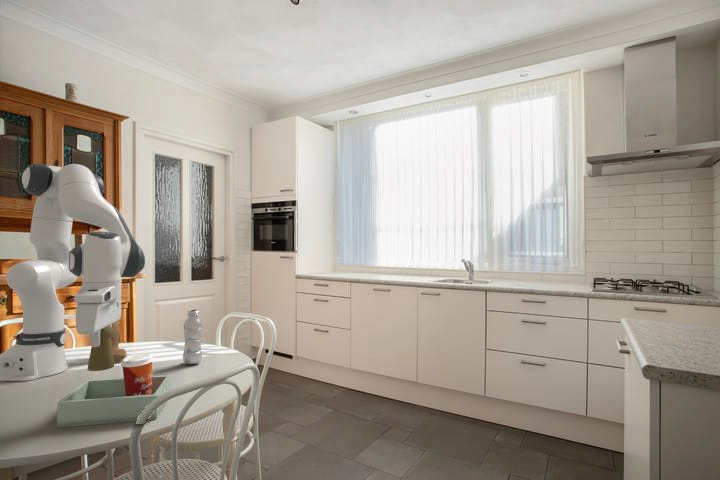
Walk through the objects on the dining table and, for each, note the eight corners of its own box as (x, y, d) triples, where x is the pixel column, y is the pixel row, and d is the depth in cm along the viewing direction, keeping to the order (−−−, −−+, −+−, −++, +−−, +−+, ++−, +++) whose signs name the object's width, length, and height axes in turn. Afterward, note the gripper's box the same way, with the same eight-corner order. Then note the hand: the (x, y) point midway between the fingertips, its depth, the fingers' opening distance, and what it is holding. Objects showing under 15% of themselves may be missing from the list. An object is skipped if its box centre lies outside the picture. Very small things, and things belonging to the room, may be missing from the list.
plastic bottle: (197, 366, 141) (198, 312, 141) (179, 366, 141) (180, 311, 141) (204, 361, 147) (206, 309, 148) (187, 360, 148) (188, 309, 148)
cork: (100, 371, 99) (101, 329, 99) (81, 370, 100) (82, 327, 100) (119, 364, 105) (120, 324, 105) (101, 363, 106) (102, 323, 106)
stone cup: (90, 356, 151) (91, 318, 151) (125, 352, 157) (126, 316, 158) (88, 367, 138) (89, 325, 138) (126, 362, 145) (128, 322, 145)
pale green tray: (56, 427, 93) (57, 402, 93) (85, 401, 108) (86, 380, 109) (156, 419, 98) (157, 395, 99) (170, 395, 114) (171, 375, 114)
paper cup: (142, 415, 100) (140, 362, 100) (116, 414, 101) (113, 361, 101) (161, 402, 108) (159, 352, 108) (137, 401, 109) (135, 352, 109)
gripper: (104, 287, 112) (102, 335, 112) (70, 297, 92) (68, 354, 92) (128, 287, 114) (126, 334, 113) (100, 296, 94) (98, 353, 94)
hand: (100, 343), depth 103 cm, fingers closed on cork, 4 cm apart
